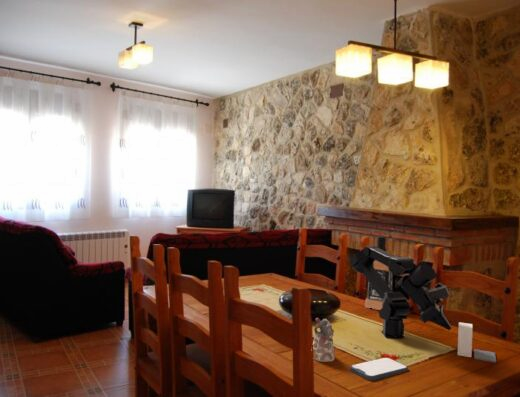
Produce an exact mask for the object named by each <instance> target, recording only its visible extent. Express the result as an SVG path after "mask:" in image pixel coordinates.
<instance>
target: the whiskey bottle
mask: <svg viewBox="0 0 520 397" xmlns="http://www.w3.org/2000/svg"><path fill="white" fill-rule="evenodd" d="M376 239H377V242H376V243H377V244H376V247H378V248H379V249H381V250H383V251H386V252H387V248H386V246H387V245H386V244H387V242H386V241H387V237H386V236H382V235H381V236H377V238H376ZM374 268H375V270H376V271H377V272H378V273H379V275H380V276H381V277H382V278H383V280H384V281H385V282H386V283H387V285H388V286H389V287H390V288H391V290H392V291H393V284H394V283H393V280H394V278H393V277H394V274H393V273H392V272H391V271H389V269H388V267H387V266H386V265H384V264H382V263H380V262H378V261H376V260H375V261H374ZM364 302H365V304H364V308H366V309H370V308H372V309H371V310H377V311H380V310H381V309H382V299H381V297H380V296H379V295H378V293H377V292H376V291H375V289H374V288H373V287H372V285H371V284H370V283H369V281H368V280H367V287H366V298H365V301H364Z"/></svg>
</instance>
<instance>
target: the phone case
mask: <svg viewBox="0 0 520 397" xmlns="http://www.w3.org/2000/svg"><path fill="white" fill-rule="evenodd" d="M349 370H350V372H352V373H353V374H356V375H357V376H358V377H360V378H363V379H365V380H366V381H370V382H373V381H378V380H381V379H384V378H389V377H391V376H395V375H399V374H402V373H405V372H408V371H409V367H408V366H407V365H405V364H403V363H401V362H399V361H397V360H394V359H392V358H390V357H382V358H381V357H380V358H378V359H373V360H368V361H364V362H363V361H362V362H360V363H356V364H351V365H350V366H349Z"/></svg>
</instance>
